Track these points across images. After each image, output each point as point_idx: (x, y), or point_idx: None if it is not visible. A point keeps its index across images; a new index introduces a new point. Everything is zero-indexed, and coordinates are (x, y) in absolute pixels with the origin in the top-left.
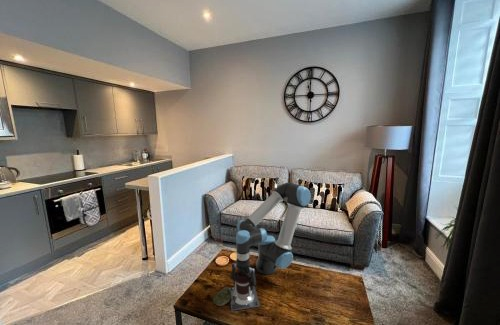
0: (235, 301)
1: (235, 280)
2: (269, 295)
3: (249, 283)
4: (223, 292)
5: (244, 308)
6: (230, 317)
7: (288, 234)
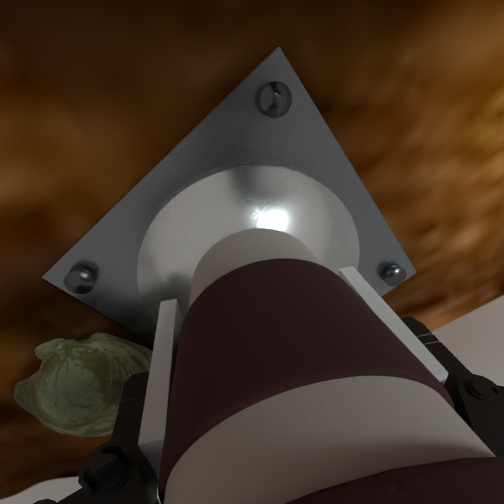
0: None
1: (156, 486)
2: (481, 103)
3: None
4: (96, 430)
5: None
6: None
7: None
